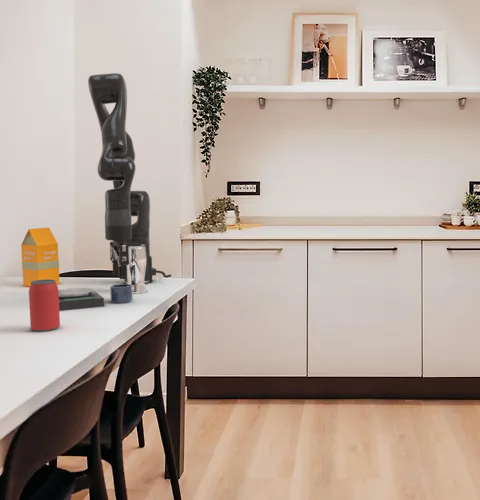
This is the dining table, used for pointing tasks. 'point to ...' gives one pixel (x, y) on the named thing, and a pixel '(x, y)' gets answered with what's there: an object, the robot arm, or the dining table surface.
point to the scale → (81, 302)
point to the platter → (75, 292)
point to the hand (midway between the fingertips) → (119, 277)
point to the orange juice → (39, 256)
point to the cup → (121, 293)
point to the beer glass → (137, 268)
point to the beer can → (44, 305)
